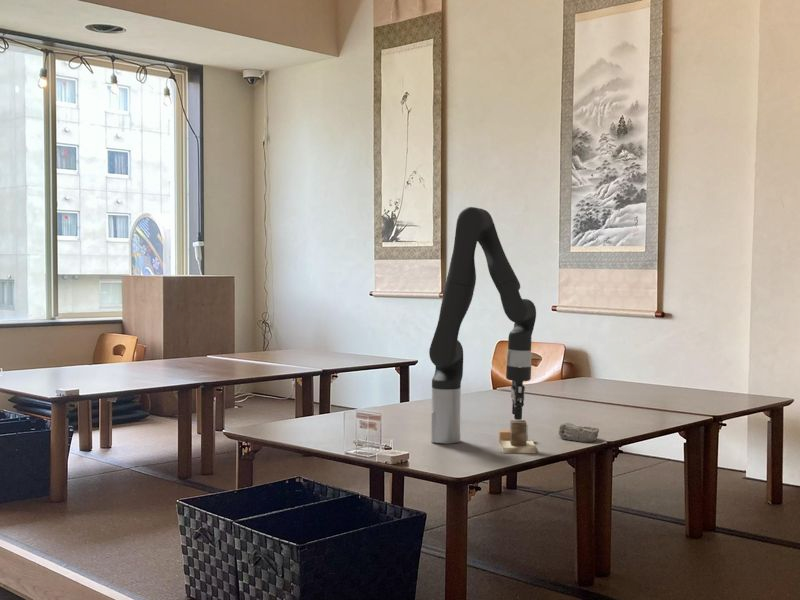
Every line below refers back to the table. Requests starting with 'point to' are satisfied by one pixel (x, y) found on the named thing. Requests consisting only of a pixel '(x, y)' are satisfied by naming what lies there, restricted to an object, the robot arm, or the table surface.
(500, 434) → the ochre cube
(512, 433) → the walnut block
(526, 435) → the grey-green square block
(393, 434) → the table surface
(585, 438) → the stone
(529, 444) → the board
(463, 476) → the table surface
